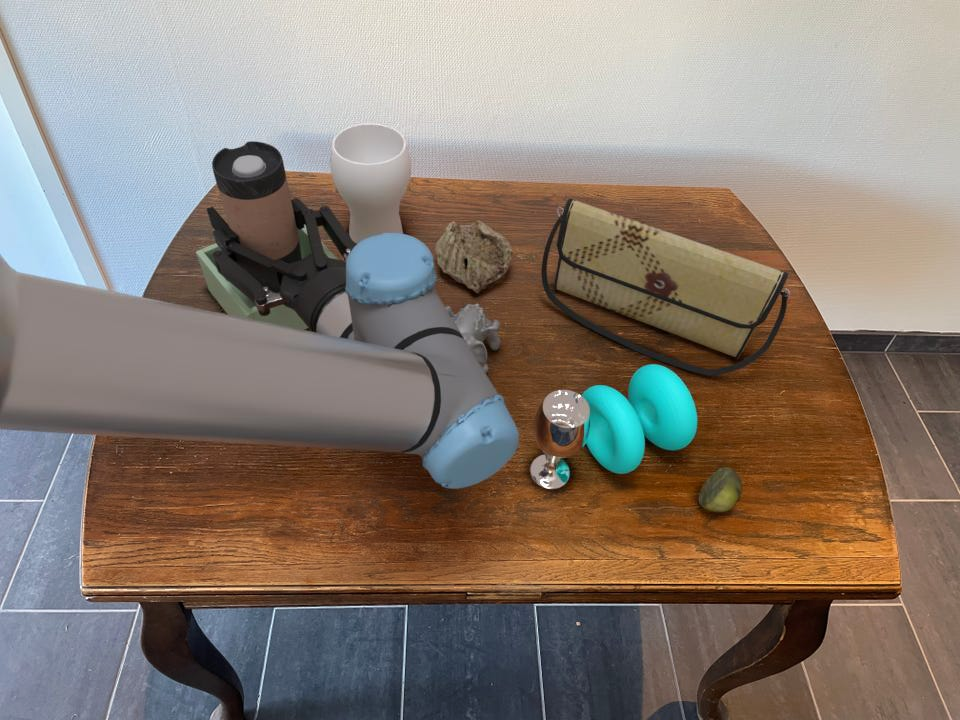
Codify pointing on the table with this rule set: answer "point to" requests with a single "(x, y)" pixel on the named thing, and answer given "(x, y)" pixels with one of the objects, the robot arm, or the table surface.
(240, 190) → the travel mug
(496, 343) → the gray elephant figurine
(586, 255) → the clutch purse
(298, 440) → the robot arm
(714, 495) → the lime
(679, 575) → the table surface
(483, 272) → the seashell
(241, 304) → the bin
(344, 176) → the cup
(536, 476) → the wineglass
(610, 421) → the turquoise yo-yo
